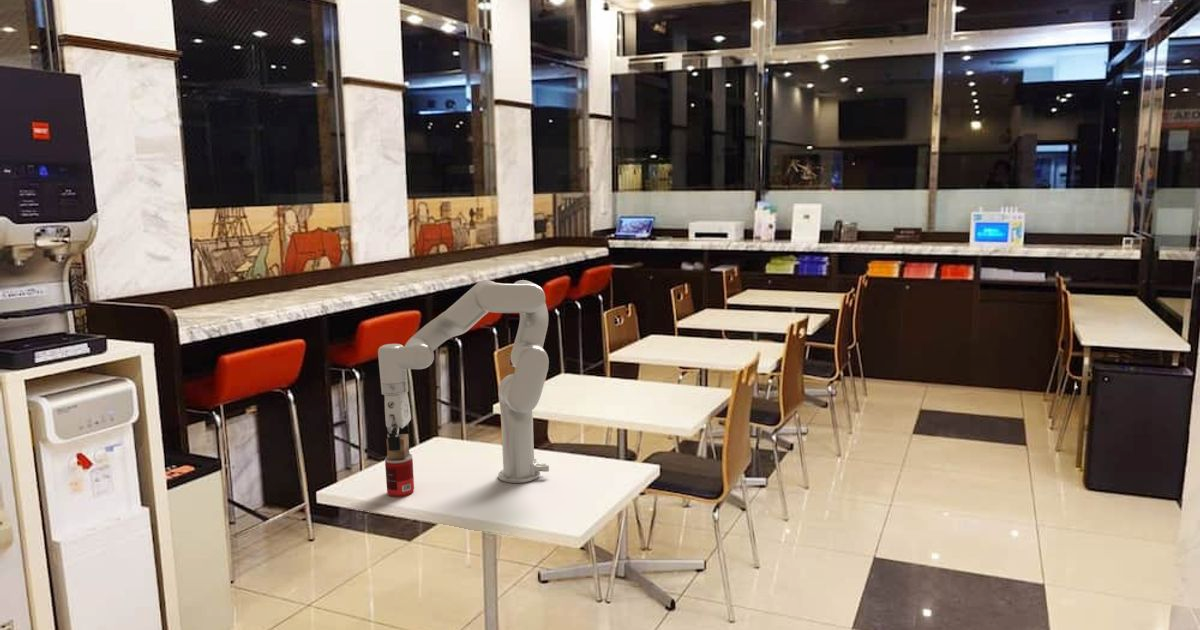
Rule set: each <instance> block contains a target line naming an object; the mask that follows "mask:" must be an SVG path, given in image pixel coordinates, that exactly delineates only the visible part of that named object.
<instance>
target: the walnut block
mask: <svg viewBox="0 0 1200 630" xmlns="http://www.w3.org/2000/svg"><path fill="white" fill-rule="evenodd" d="M398 436H400V447H401V449H400V450H393V451H390V450H389V444H388V437H387V438H386V440H385V441H386V457H388V460H392V459H406V457H407V456H408V455H409V454H410V443H409V442H410V441H409V440H410V438H408V434H398Z"/></svg>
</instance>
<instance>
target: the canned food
mask: <svg viewBox="0 0 1200 630" xmlns="http://www.w3.org/2000/svg"><path fill="white" fill-rule="evenodd" d="M413 460H414V459H413V455H412V454H411V453H409V455H408V456H407V457H406V459H392V460H388V457H387V456H385V457H384V464H385V466H384V467H385V479H386V480H385V483H386V493H387V495H388V496H389V497H391V498H404V496H405V497H407V496H410V495H412V494H413V493H414V491H415V478H414V464H413V463H414V461H413Z"/></svg>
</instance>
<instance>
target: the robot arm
mask: <svg viewBox="0 0 1200 630" xmlns="http://www.w3.org/2000/svg"><path fill="white" fill-rule="evenodd" d="M489 313H496V314H498V313H499V314H519V324H518V327H517V333H516V336H515V339H514V343H513V346H512V349H511V352H510V362H511V365H513V367H514V368H515V369H514V373H512V374H508V375H506V376H505V377H504V378H503V379H502V380H501V381H500V383H499V386H498V393H497V395H498V401H499V408H500V421H501V422H500V423H501V440H502V441H501V444H502V445H501V446H502V467H503V469H502V470H499V472H498V479H499V480H500V481H502V482H504V483H511V484H522V483H529V482H532V481H535V480H537V479H538V478H539V477H540V475H541V472H545V473H546V472H547V473H548V472H550V465H548V464H547V463H539V462H537V458H535V448H534V446H535V445H534V444H535V443H534V417H533V416H534V415H533V411H534V409H536V407H537V405H538V404H539V401H540V400H541V399H540V398H541V396H542V392H543V388H544V384H545V383H546V382H545V381H546V379H547V374H548V372H549V365H550V364H549V363H550V361H549V356H548V353H547V351H546V350H545V349H544V343H545V341H546V340H545V339H546V335H547V332H548V327H549V311H548V307H547V303H546V294H545V291H544V289H543V288H542V287H541V286H540V285H538V284H537V283H534V282H532V281H529V280H526V279H525V280H524V279H522V280H521V279H520V280H517V281H515V282H514V283H502V282H495V281H492V280H490V279H483V280H480V281H478V282H477V283H476V284H475V285H473V286H472V287H471V288H470V289H469V290H468V291H467V292H465V293H464V294H463V295H462V296H460V298H459V299H457V300H456V301H455V302H454V303H453V304H452V305H451V306H449V307H448V308H447V309H446V310H445V311H443V312H441V313H440V314H439V315H438V316H436V317H435V318H434V319H432V320H430V321H429V322H428V323H426V324H425V325H424V326H423V327H421V328H420V329H419V330H418V331H417V332H416V333H415V334H413V335H412V336H411V337H409V339H408V340H407V342H406V343H405V345H402V344H400V343H387V344H383V345H381V346H379V348H378V350H377V355H378V367H379V368H378V369H379V378H380V389H381V395H383V396H384V415H385V416H384V417H385V418H384V419H385V426H386V432H387V438H388V444H389V450H390V451H393V450H400V449H401V447H400V436H398V434H408V438H409V439H410V427H409V423H410V421H411V420H412V415H411V414H412V413H411V407H410V399H409V394H408V392H409V383H408V370H423V369H427V368H428V367H430V366H431V365H432V364H433V362H434V360H435V354H434V351H435V350H436V349H438V347H440V346H441V345H442V344H444V343H445V342H446V341H448V340H450V339H451V338H454V337H457V336H461V335H464V334H465V333H467V332H468V331H469V330H470V329H472V327H474V326H475V325H476V324H477V323H478V322H479V321H480V320H481V319H482V318H483V317H484V316H486V315H487V314H489Z"/></svg>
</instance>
